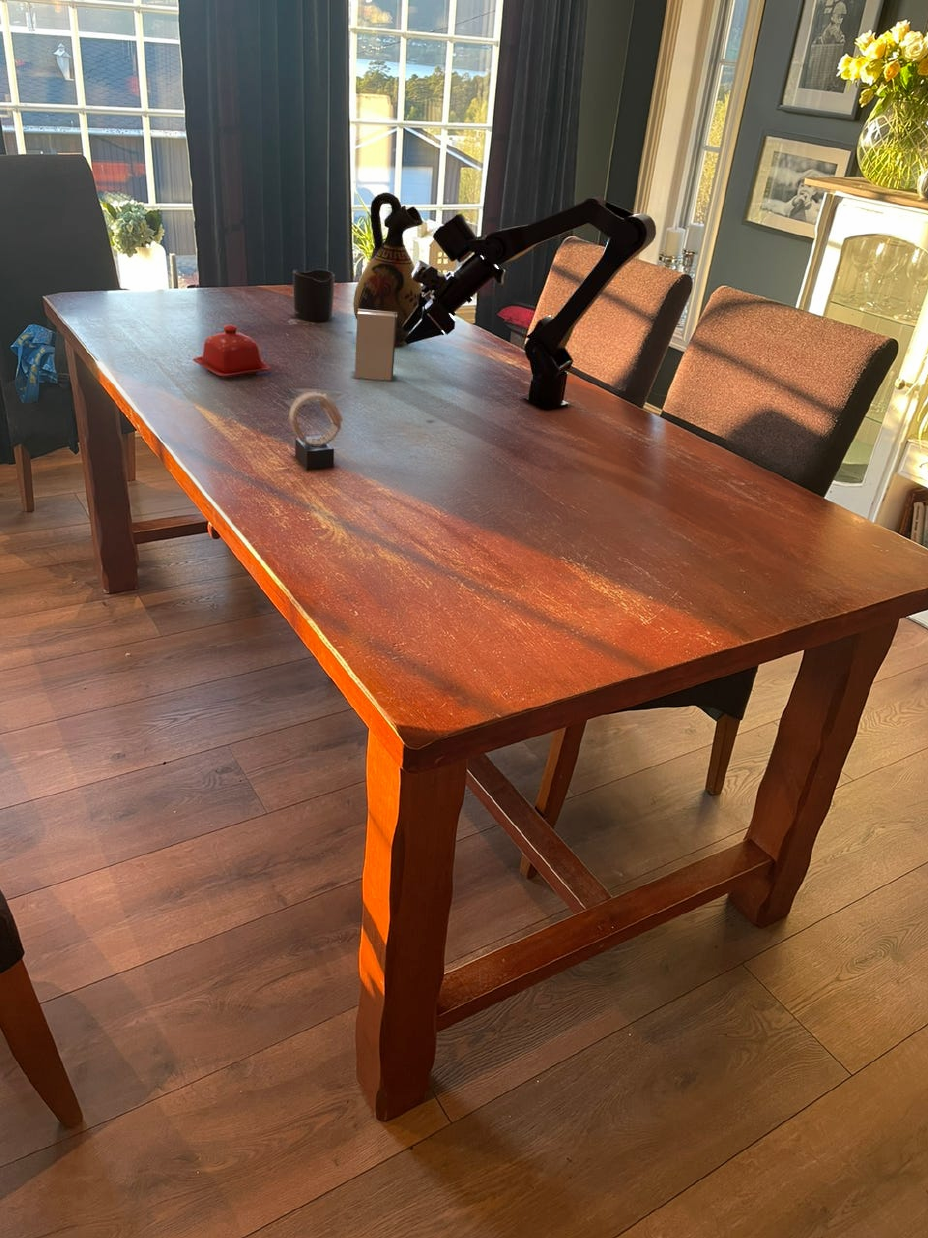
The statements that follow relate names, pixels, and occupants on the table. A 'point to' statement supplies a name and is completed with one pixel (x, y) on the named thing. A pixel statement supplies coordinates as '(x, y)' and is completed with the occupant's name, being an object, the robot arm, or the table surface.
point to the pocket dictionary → (375, 344)
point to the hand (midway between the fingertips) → (404, 335)
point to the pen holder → (313, 295)
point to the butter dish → (231, 354)
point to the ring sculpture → (316, 448)
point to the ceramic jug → (390, 266)
